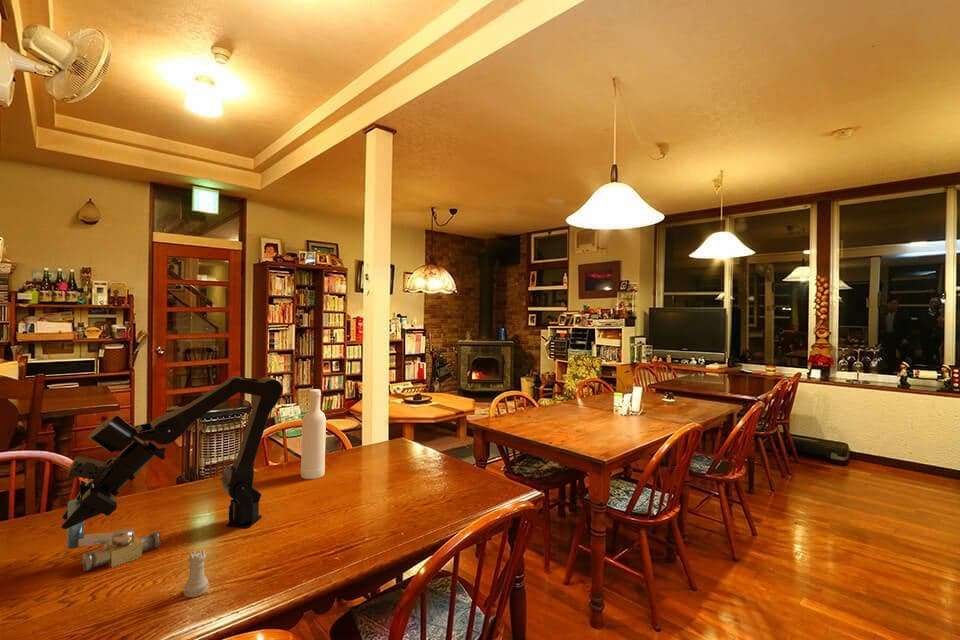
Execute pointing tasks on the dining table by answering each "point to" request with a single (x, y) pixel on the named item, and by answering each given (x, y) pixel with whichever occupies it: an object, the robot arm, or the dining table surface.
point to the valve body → (120, 552)
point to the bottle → (313, 439)
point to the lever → (79, 539)
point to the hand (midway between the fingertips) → (63, 523)
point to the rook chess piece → (196, 575)
